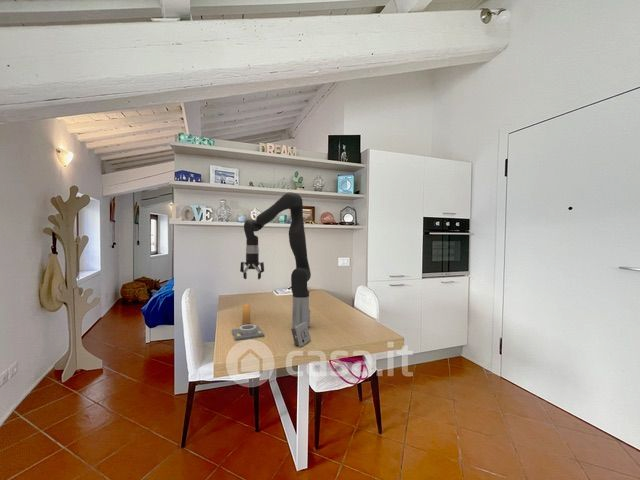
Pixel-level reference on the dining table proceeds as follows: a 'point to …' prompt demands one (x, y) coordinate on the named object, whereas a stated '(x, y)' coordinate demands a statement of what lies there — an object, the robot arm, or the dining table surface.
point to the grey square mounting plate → (247, 332)
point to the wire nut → (246, 314)
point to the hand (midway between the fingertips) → (252, 279)
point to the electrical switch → (301, 334)
